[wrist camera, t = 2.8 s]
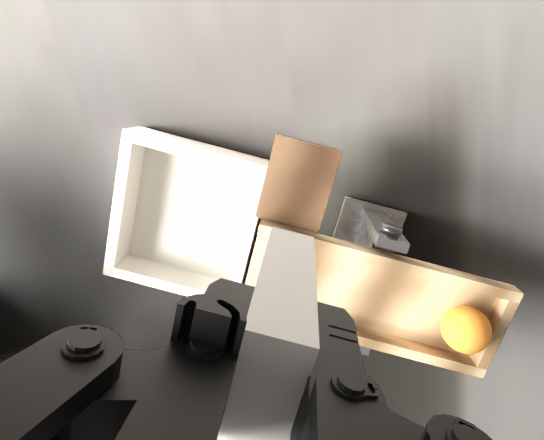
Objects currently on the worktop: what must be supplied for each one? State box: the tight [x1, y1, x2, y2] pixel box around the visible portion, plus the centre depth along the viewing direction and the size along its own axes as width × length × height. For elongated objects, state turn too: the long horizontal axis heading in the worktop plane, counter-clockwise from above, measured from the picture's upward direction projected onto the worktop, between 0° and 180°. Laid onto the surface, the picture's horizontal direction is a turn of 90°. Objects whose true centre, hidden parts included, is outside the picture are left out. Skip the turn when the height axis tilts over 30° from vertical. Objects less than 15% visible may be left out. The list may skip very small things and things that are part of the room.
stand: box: [333, 196, 410, 356], centre depth 36 cm, size 6×11×9 cm, turn 166°
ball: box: [441, 306, 492, 354], centre depth 30 cm, size 4×4×4 cm
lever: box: [245, 133, 524, 378], centre depth 31 cm, size 20×14×2 cm
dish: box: [103, 126, 269, 297], centre depth 38 cm, size 13×14×4 cm
